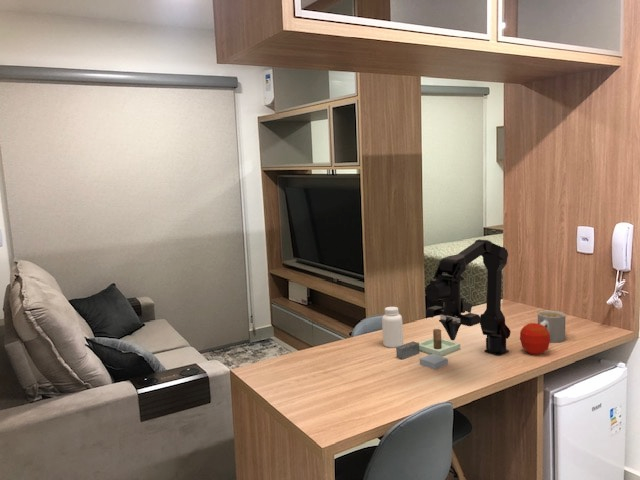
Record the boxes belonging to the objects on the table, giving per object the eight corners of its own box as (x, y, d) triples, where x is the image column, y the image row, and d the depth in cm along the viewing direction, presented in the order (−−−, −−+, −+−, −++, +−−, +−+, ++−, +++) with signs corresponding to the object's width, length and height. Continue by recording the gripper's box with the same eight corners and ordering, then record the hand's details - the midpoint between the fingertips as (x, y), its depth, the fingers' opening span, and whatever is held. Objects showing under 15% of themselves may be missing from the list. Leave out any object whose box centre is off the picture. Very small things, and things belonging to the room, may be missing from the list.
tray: (460, 349, 202) (460, 343, 201) (439, 357, 195) (439, 351, 194) (436, 342, 211) (435, 336, 211) (415, 349, 204) (415, 344, 204)
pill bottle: (380, 346, 209) (378, 310, 207) (387, 340, 216) (385, 304, 214) (399, 349, 206) (397, 311, 204) (405, 342, 213) (404, 306, 211)
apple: (554, 351, 194) (554, 321, 192) (542, 359, 187) (542, 327, 186) (527, 345, 201) (527, 316, 200) (515, 353, 195) (514, 322, 193)
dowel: (443, 347, 203) (442, 330, 202) (438, 349, 201) (437, 331, 200) (437, 346, 205) (436, 328, 204) (432, 347, 203) (431, 330, 202)
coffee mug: (548, 333, 214) (548, 309, 213) (570, 339, 206) (571, 314, 204) (526, 339, 208) (526, 315, 207) (547, 346, 199) (548, 320, 198)
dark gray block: (419, 353, 200) (419, 343, 199) (402, 359, 195) (402, 349, 194) (413, 351, 202) (413, 341, 202) (396, 357, 197) (396, 347, 196)
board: (448, 365, 188) (447, 358, 188) (435, 370, 184) (434, 363, 183) (432, 360, 193) (432, 353, 193) (419, 365, 189) (419, 358, 189)
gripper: (490, 295, 176) (490, 340, 178) (444, 287, 190) (445, 329, 192) (469, 301, 169) (470, 348, 171) (424, 292, 183) (425, 336, 185)
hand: (452, 340), depth 180 cm, fingers closed
